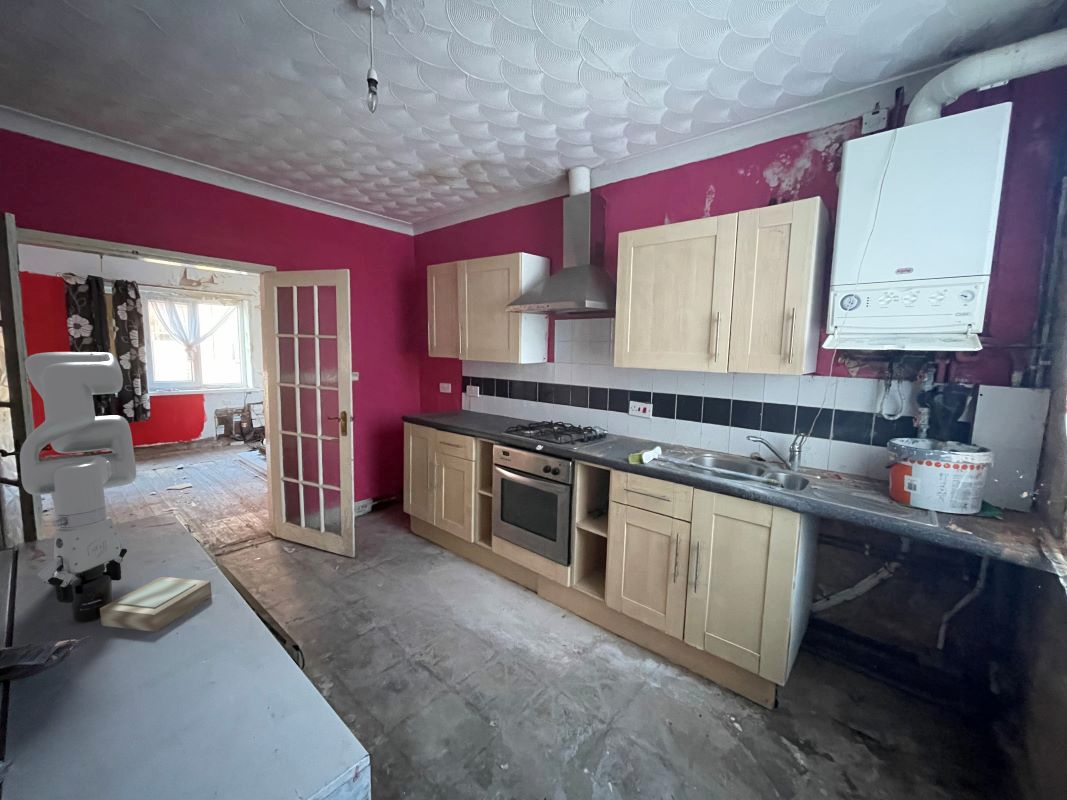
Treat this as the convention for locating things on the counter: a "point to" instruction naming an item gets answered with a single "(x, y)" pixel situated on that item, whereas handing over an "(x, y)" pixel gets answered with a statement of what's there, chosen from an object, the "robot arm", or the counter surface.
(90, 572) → the supplement bottle
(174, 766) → the counter surface
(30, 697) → the counter surface
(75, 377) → the robot arm
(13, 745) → the counter surface
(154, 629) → the birch stand
